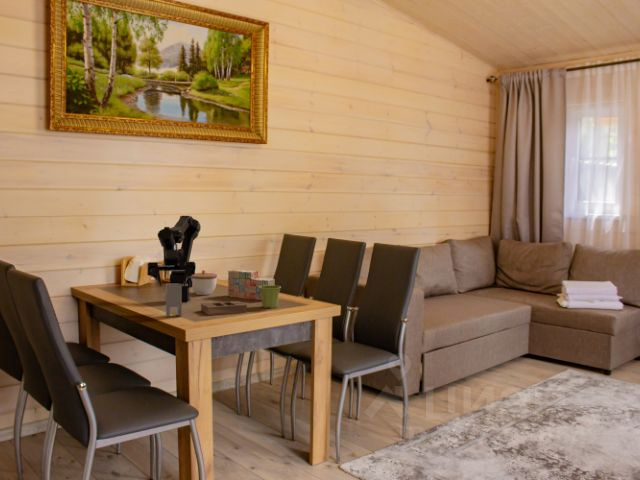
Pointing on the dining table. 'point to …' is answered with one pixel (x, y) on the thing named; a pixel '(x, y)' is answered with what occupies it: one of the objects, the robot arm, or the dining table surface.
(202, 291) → the lidded bowl
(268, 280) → the stack of blocks
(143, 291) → the dining table surface
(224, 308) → the brown holed block
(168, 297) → the grey tall block
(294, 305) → the dining table surface
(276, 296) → the plant pot
